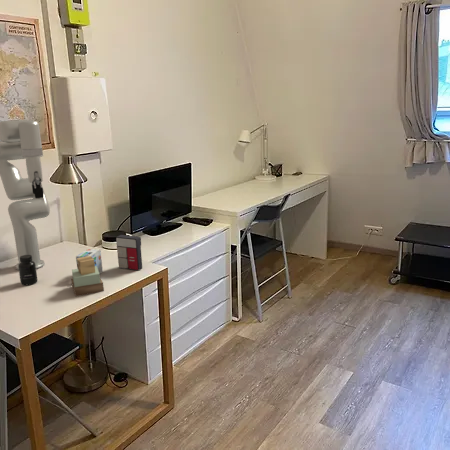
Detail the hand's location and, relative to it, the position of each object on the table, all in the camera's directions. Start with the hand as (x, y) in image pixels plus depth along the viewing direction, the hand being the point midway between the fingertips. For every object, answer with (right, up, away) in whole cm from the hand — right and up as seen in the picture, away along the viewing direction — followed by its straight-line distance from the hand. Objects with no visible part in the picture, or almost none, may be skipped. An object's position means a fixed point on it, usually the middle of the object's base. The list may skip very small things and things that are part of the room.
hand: (38, 195), depth 185 cm
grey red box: (+32, -32, +26) cm, 52 cm away
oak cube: (+19, -31, +2) cm, 36 cm away
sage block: (+19, -35, +3) cm, 39 cm away
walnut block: (+19, -39, +4) cm, 43 cm away
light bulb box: (+16, -34, +18) cm, 42 cm away
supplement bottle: (-9, -37, +12) cm, 40 cm away
